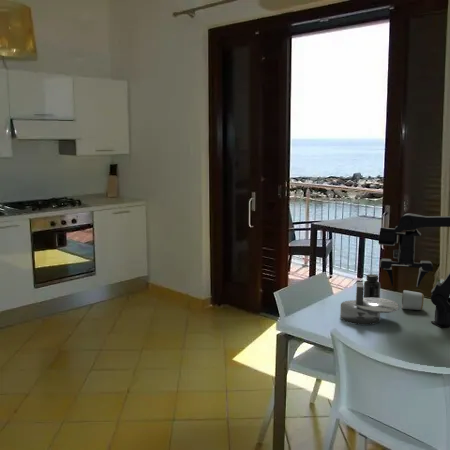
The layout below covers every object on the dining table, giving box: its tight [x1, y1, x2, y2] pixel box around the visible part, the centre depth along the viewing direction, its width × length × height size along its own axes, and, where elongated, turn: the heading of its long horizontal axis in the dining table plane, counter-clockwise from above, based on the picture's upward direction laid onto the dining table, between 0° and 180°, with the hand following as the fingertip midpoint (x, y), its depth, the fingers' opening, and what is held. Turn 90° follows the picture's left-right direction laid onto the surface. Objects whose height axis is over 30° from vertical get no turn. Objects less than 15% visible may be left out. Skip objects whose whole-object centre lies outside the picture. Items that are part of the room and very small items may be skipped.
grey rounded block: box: [401, 289, 425, 311], centre depth 213 cm, size 11×8×8 cm
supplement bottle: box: [363, 273, 381, 298], centre depth 220 cm, size 7×7×12 cm
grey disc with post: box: [355, 281, 399, 314], centre depth 198 cm, size 16×16×8 cm
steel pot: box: [339, 299, 381, 326], centre depth 200 cm, size 15×25×5 cm, turn 167°
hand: (404, 286), depth 198 cm, fingers open, 9 cm apart
